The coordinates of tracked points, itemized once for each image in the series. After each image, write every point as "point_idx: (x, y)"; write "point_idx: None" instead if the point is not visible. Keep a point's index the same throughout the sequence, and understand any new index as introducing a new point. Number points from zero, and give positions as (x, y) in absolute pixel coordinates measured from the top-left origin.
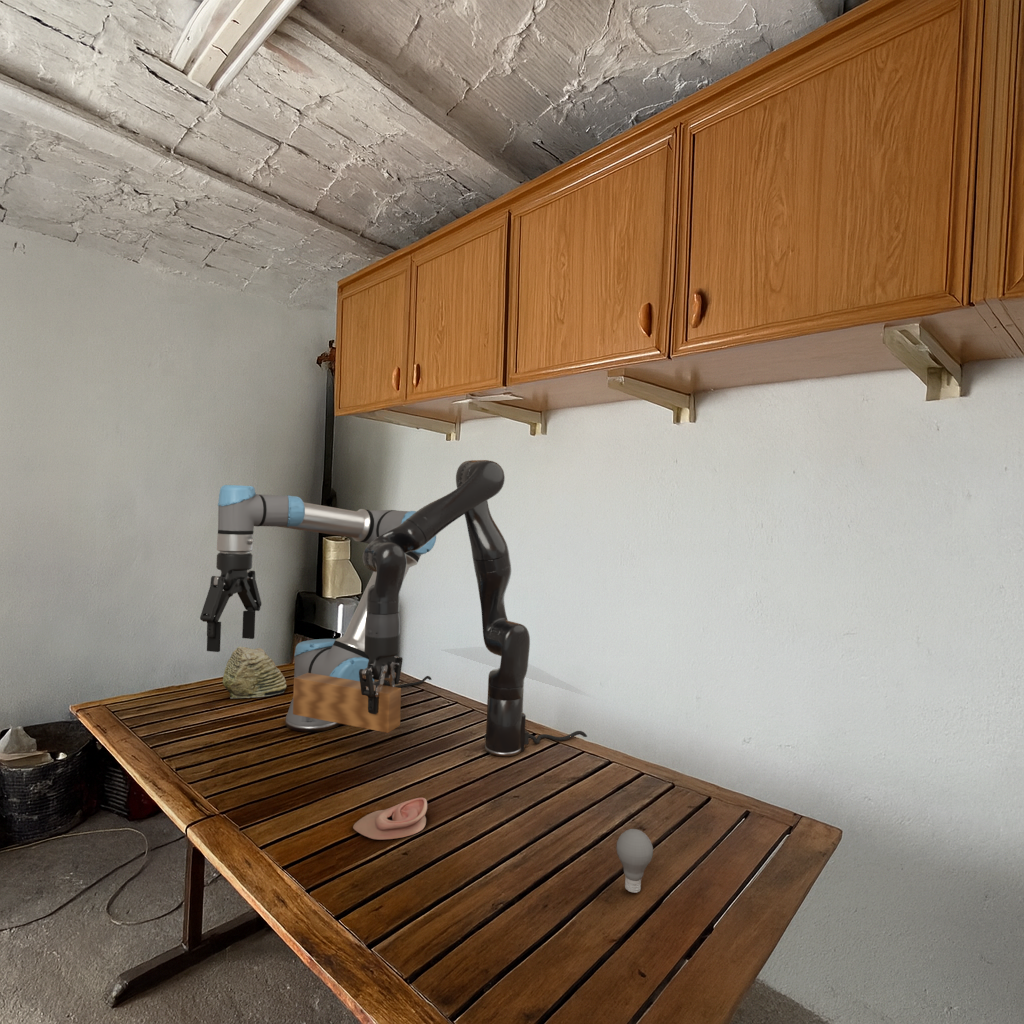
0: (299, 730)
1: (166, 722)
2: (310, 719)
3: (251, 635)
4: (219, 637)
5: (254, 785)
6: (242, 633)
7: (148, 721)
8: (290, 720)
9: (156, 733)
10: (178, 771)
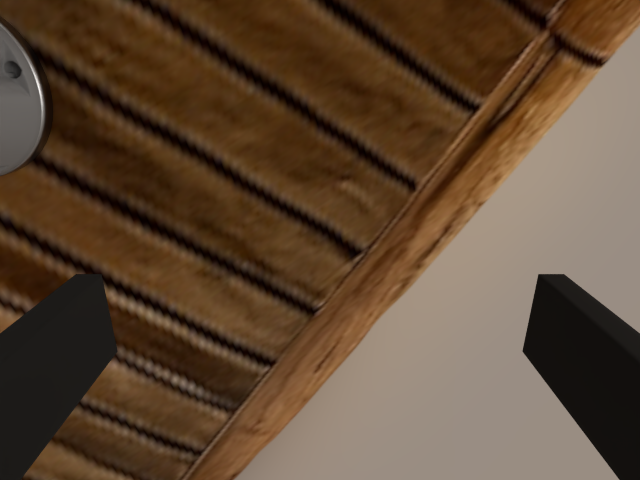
0: (50, 98)
1: (145, 418)
2: (1, 72)
3: (90, 296)
4: (622, 335)
5: (399, 30)
6: (99, 374)
7: (156, 449)
8: (31, 138)
9: (204, 399)
10: (365, 245)
